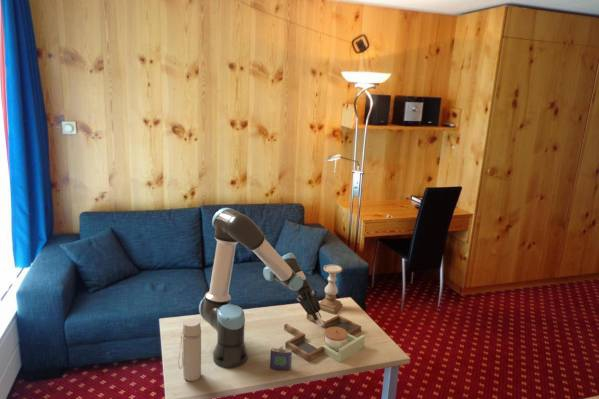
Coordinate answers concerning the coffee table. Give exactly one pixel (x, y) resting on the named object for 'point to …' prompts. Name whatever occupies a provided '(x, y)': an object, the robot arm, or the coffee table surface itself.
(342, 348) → the track
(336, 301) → the candle holder
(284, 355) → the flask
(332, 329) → the lidded jar
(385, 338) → the coffee table surface
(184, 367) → the water bottle
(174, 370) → the coffee table surface
